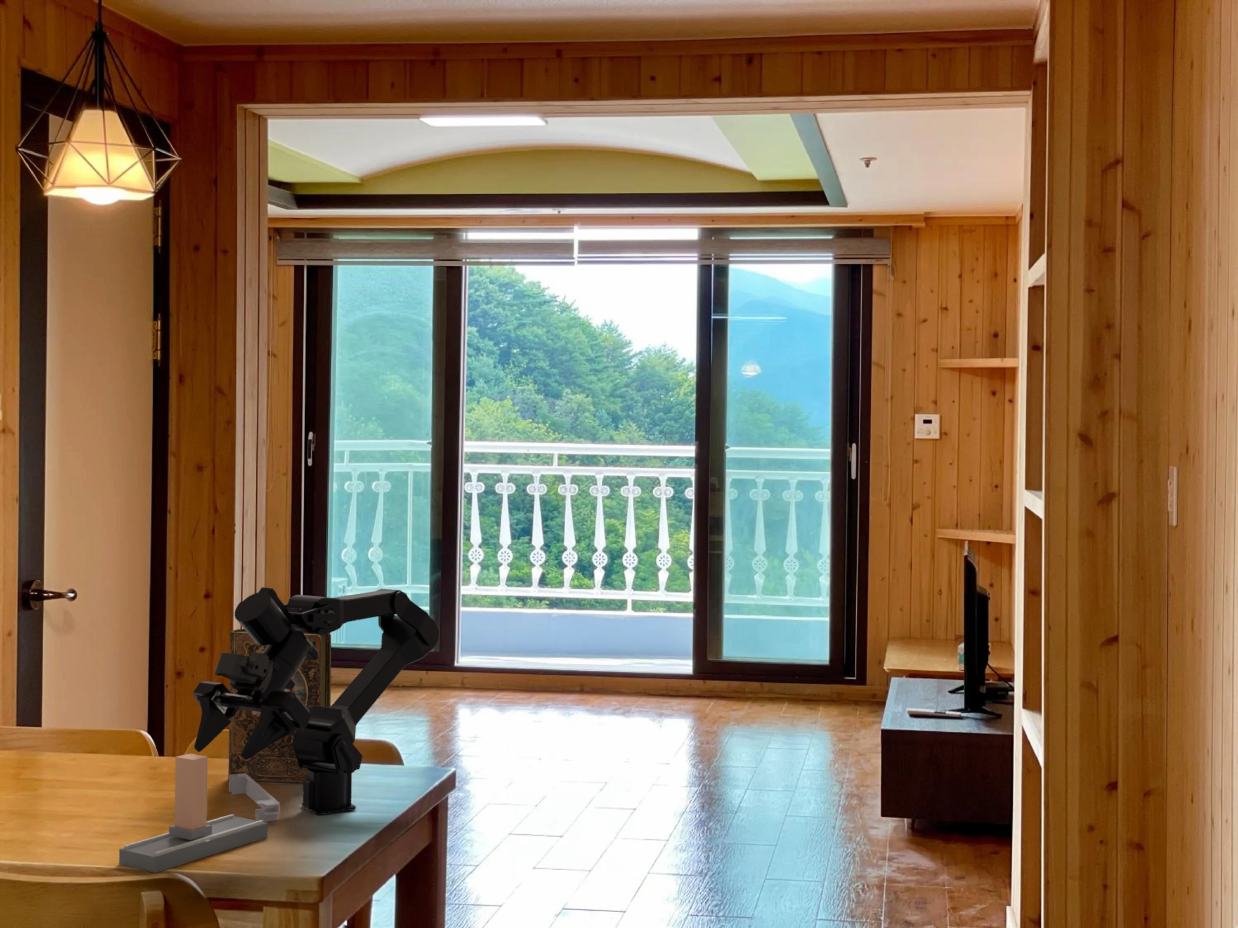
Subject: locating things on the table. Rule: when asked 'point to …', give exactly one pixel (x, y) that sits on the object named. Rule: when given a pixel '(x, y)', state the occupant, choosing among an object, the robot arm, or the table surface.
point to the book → (279, 756)
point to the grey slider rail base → (191, 844)
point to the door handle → (255, 796)
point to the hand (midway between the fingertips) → (219, 753)
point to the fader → (191, 797)
